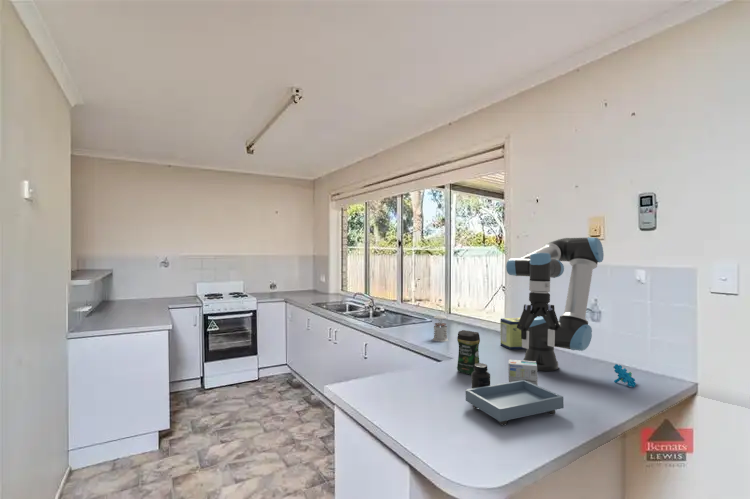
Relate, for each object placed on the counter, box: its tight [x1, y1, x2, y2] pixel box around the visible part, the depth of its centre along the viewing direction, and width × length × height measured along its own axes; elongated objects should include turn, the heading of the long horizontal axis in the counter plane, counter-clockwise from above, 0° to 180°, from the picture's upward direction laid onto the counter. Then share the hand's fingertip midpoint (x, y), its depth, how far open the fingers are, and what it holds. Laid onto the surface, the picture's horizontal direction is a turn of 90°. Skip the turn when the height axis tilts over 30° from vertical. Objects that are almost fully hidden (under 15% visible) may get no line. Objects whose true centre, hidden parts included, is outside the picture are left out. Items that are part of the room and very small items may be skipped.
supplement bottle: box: [470, 362, 491, 389], centre depth 145 cm, size 7×7×12 cm
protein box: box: [499, 317, 527, 351], centre depth 218 cm, size 10×16×16 cm
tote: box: [465, 380, 564, 426], centre depth 132 cm, size 18×26×6 cm
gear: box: [613, 363, 637, 388], centre depth 158 cm, size 11×6×10 cm
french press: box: [432, 298, 449, 343], centre depth 238 cm, size 10×12×25 cm
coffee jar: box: [456, 329, 481, 375], centre depth 174 cm, size 10×8×19 cm
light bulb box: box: [507, 359, 539, 386], centre depth 153 cm, size 11×7×11 cm, turn 71°
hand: (538, 347), depth 150 cm, fingers open, 13 cm apart
